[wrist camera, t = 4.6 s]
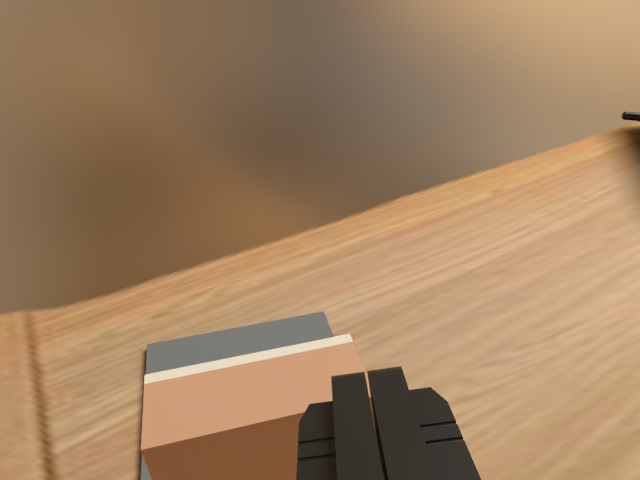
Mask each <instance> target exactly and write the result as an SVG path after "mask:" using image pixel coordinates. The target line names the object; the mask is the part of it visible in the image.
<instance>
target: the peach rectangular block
mask: <svg viewBox="0 0 640 480" xmlns="http://www.w3.org/2000/svg"><path fill="white" fill-rule="evenodd" d="M358 372H365V377H366V382H367V388H368V394H369V399H370V405H371V410H372V416H373V409H372V402H371V395H370V388H369V381H368V375H367V373H366V370H365V368H364V366H363V363H362V361H361V359H360V357H359V354H358V352H357V350H356V347H355V345H354V343H353V341H352V338H351V336H350V334H346V335H341V336H336V337H331V338H326V339H321V340H316V341H311V342H306V343H301V344H296V345H291V346H286V347H281V348H276V349H271V350H266V351H261V352H256V353H251V354H246V355H241V356H236V357H231V358H226V359H221V360H216V361H211V362H206V363H201V364H196V365H191V366H186V367H181V368H176V369H171V370H166V371H161V372H156V373H151V374H146V375H145V376H144V396H143V416H142V436H141V452H142V455H143V457H144V460H145V462H146V465H147V468H148V470H149V473H150V476H151V478H152V480H296V473H297V463H298V461H297V452H298V431H299V421H300V419H301V418H302V416H303V414H304V413H305V411H306V409H307V407H308V406H309V404H313V403H320V402H327V401H333V400H332V383H331V376H336V375H343V374H351V373H358ZM373 421H374V417H373Z"/></svg>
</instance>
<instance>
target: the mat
mask: <svg viewBox="0 0 640 480" xmlns="http://www.w3.org/2000/svg"><path fill="white" fill-rule="evenodd" d="M331 337H334V336H333V334H332V331H331V329H330V326H329V324H328V321H327V319H326V316H325V314H324V312H319V313H313V314H308V315H302V316H297V317H292V318H286V319H281V320H276V321H270V322H265V323H260V324H254V325H249V326H244V327H238V328H233V329H228V330H222V331H217V332H212V333H206V334H201V335H195V336H190V337H185V338H179V339H174V340H169V341H163V342H158V343H153V344H147V357H146V374H151V373H156V372H161V371H166V370H171V369H176V368H181V367H186V366H191V365H196V364H201V363H206V362H211V361H216V360H221V359H226V358H231V357H236V356H241V355H246V354H251V353H256V352H261V351H266V350H271V349H276V348H281V347H286V346H291V345H296V344H301V343H306V342H311V341H316V340H321V339H326V338H331ZM141 480H152V478H151V476H150V473H149V470H148V468H147V465H146V462H145V460H144V457H143V455H142V461H141Z"/></svg>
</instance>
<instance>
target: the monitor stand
mask: <svg viewBox="0 0 640 480" xmlns="http://www.w3.org/2000/svg"><path fill="white" fill-rule="evenodd" d="M622 119H624V120H635V121H640V113H634V112H624V113H623V114H622Z"/></svg>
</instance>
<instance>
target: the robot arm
mask: <svg viewBox="0 0 640 480" xmlns="http://www.w3.org/2000/svg"><path fill="white" fill-rule="evenodd" d="M367 373H368V381H369V388H370V395H371V402H372V409H373V416H372V410H371V405H370V399H369V394H368V388H367V382H366V377H365V372H358V373H351V374H343V375H336V376H331V383H332V400H333V401H327V402H320V403H313V404H309V406H308V407H307V409H306V411H305V413H304V414H303V416H302V418H301V419H300V421H299V431H298V452H297V461H298V463H297V473H296V480H481V478H480V476H479V474H478V471H477V469H476V467H475V464H474V462H473V460H472V458H471V455H470V453H469V451H468V448H467V446H466V444H465V441H463V437H462V434H461V432H460V430H459V427H458V425H457V424H456V420H455V418H454V416H453V413H452V411H451V409H450V407H449V404H448V402H447V401H446V400H445V399H444V398H442V397H441V396H440V395H439V394H438V393H437V392H435V391H434V390H433V389H432V388H431V387H429V388H422V389H414V390H409V389H408V386H407V383H406V380H405V377H404V374H403V370H402V368H401V366H400V367H393V368H386V369H379V370H371V371H367ZM373 417H374V421H373ZM374 424H375V427H374ZM375 431H376V432H375Z"/></svg>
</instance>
